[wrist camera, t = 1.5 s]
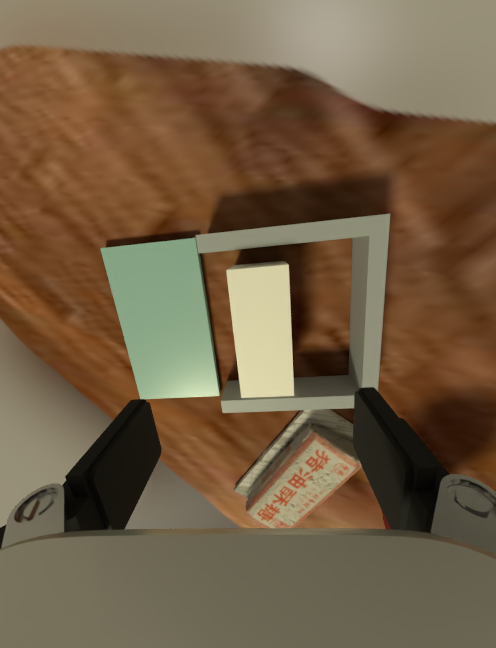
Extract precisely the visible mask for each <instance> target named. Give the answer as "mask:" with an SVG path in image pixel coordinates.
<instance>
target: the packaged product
mask: <svg viewBox="0 0 496 648" xmlns="http://www.w3.org/2000/svg"><path fill="white" fill-rule="evenodd" d="M361 467H362V465H361V463H360V461H359V459H358V456H357V454H356V452H355V450H354V446H353V424H352V423H350V422H349V421H347V420H346V419H344V418H343V417H341V416H340V415H338V414H337V413H335V412H333V411H332V410H330V409H318V410H301V411H300V412H299V413H298V414H297V416H296V417H295V418H294V419H293V421H292V422H291V423H290V424H289V425H288V427H287V428H286V429H285V430H284V431H283V432H282V433H281V434H280V435H279V436H278V438H277V439H276V440H275V441H274V442H273V443H272V444H271V445H270V446H269V447H268V448H267V449H266V450H265V451H264V452H263V454H262V455H261V456H260V457H259V459H258V460H257V462H256V463H255V464H254V465H253V466H252V467H251V468H250V470H249V471H248V472H247V473H246V474H245V475H244V476H243V478H242V479H241V480H240V481H239V482H238V484H237V485H236V486H235V488H234V491H236V492H238V493H239V494H241V495H243V496H245V497H246V498H248V501H246V515H247V516H248V517H249V519H251V521H252V522H253V524H255V525H258V526H260V527H261V528H296V527H297V526H298V525H299V524H300V523H301V522H302V521H303V520H305V519H306V518H307V517H308V516H309V515H310V514H311V513H312V512H313V511H315V510H316V509H317V508H318V507H319V506H320V505H321V504H322V503H324V502H325V501H326V499H327V498H329V497H330V496H331V495H332V494H333V493H334V492H335V491H336V490H337V489H338V488H340V487H341V486H342V485H343V484H344V483H345V482H346V481H347V480H348V479H349V478H350V477H351V476H353V475H354V474H355V473H356V472H357V471H358V470H359V469H361Z"/></svg>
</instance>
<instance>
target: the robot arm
mask: <svg viewBox="0 0 496 648" xmlns="http://www.w3.org/2000/svg"><path fill="white" fill-rule="evenodd" d="M353 446H354V450H355V452H356V454H357V456H358V459H359V461H360V463H361V465H362V467H363V470H364V472H365V474H366V476H367V478H368V480H369V483H370V485H371V487H372V489H373V491H374V494H375V496H376V498H377V500H378V502H379V504H380V507H381V509H382V511H383V513H384V515H385V518H386V520H387V522H388V524H389V526H390V529H355V528H229V529H228V528H227V529H226V528H220V529H133V530H132V529H131V530H130V529H129V530H128V529H127V530H124V529H125V527H126V525H127V523H128V521H129V519H130V517H131V515H132V513H133V511H134V509H135V506H136V504H137V502H138V500H139V498H140V496H141V494H142V492H143V490H144V488H145V486H146V484H147V482H148V480H149V478H150V476H151V474H152V472H153V470H154V468H155V466H156V464H157V462H158V459H159V457H160V455H161V445H160V441H159V437H158V434H157V430H156V426H155V422H154V418H153V414H152V410H151V406H150V403H149V402H146V400H145V399H138V400H131V401H130V402H129V403H128V404H127V405H126V406H125V408H124V409H123V410H122V411H121V412H120V413H119V415H118V416H117V417H116V418H115V419H114V420H113V422H112V423H111V424H110V425H109V426H108V428H107V429H106V430H105V431H104V432H103V433H102V434H101V436H100V437H99V438H98V439H97V440H96V441H95V443H94V444H93V445H92V446H91V447H90V448H89V450H88V451H87V452H86V453H85V454H84V455H83V456H82V458H81V459H80V460H79V461H78V462H77V463H76V465H75V466H74V467H73V468H72V469H71V470H70V472H69V473H68V474H67V475H66V477H65V478H66V482H65V483H64V484H63V485H60V484H49V485H46V486H43V487H41V488H39V489H37V490H35V491H33V492H32V493H30V494H29V495H27V496H26V497H25V498H24V499H22V500H21V501H20V502H19V503H18V504H17V505H16V506H15V508H14V509H13V510H12V512H11V513H10V515H9V518H8V520H7V524H6V525H5V526H3V527H1V528H0V648H496V492H495V491H494V490H492V489H491V488H490V487H488V486H487V485H485V484H484V483H482V482H480V481H478V480H476V479H473V478H470V477H467V476H465V475H458V474H451V475H450V474H449V473H448V472H447V471H446V469H445V468H444V467H443V466H442V464H441V463H440V462H439V461H438V460H437V458H436V457H435V456H434V455H433V454H432V452H431V451H430V450H429V449H428V448H427V446H426V445H425V444H424V443H423V442H422V440H421V439H420V438H419V437H418V435H417V434H416V433H415V432H414V431H413V429H412V428H411V427H410V426H409V425H408V423H407V422H406V421H405V420H404V419H402V418H399V417H398V416H397V415H396V414H395V412H394V411H393V410H392V409H391V407H390V406H389V405H388V404H387V402H386V401H385V400H384V399H383V397H382V396H381V395H380V394H379V392H378V391H377V390H376V389H375V388H374V387H364V388H359V391H356V392H355V395H354V420H353Z"/></svg>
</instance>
